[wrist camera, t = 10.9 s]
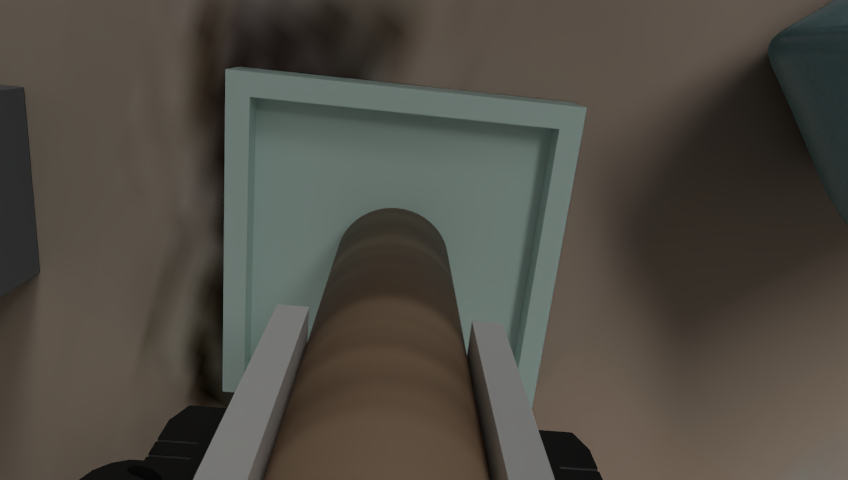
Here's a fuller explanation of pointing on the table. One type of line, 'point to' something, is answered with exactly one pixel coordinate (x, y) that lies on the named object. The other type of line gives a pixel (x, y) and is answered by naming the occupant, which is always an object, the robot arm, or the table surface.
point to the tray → (392, 196)
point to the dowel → (384, 366)
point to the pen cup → (15, 194)
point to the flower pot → (819, 91)
